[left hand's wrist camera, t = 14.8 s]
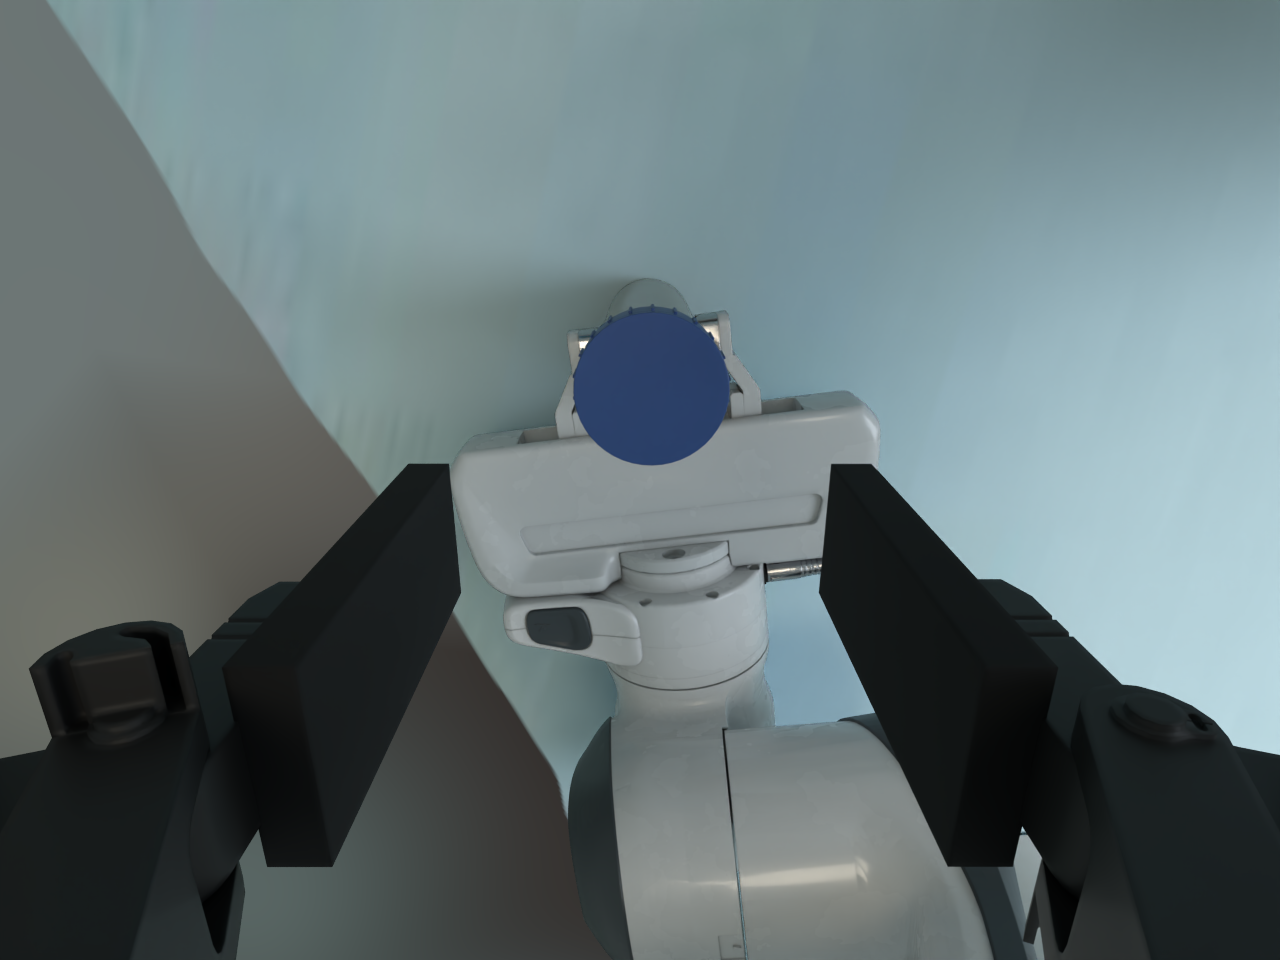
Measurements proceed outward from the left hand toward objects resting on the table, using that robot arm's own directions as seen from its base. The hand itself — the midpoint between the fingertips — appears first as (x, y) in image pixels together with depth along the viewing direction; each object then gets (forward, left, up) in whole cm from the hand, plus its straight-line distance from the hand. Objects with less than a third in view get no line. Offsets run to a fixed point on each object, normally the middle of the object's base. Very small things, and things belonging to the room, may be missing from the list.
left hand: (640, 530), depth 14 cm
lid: (0, 0, -11) cm, 11 cm away
